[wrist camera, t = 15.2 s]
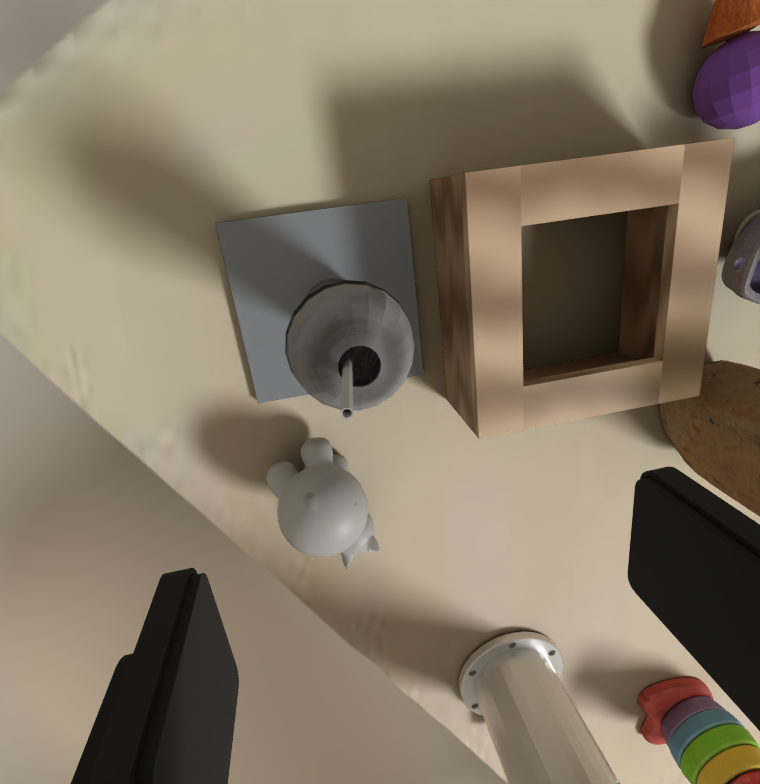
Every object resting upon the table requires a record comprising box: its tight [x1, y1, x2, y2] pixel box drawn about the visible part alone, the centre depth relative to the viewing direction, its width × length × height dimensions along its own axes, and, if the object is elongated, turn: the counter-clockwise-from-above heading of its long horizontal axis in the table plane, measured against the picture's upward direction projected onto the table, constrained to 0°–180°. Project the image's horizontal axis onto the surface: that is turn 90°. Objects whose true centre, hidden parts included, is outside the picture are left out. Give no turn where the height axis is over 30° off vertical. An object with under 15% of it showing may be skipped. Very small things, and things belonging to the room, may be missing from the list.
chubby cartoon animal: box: [266, 438, 380, 568], centre depth 41 cm, size 7×12×8 cm, turn 30°
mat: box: [215, 198, 424, 403], centre depth 38 cm, size 14×14×1 cm
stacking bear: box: [638, 678, 760, 784], centre depth 56 cm, size 11×10×18 cm
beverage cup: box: [285, 278, 414, 419], centre depth 28 cm, size 7×7×20 cm
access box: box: [430, 138, 735, 439], centre depth 37 cm, size 18×18×8 cm
